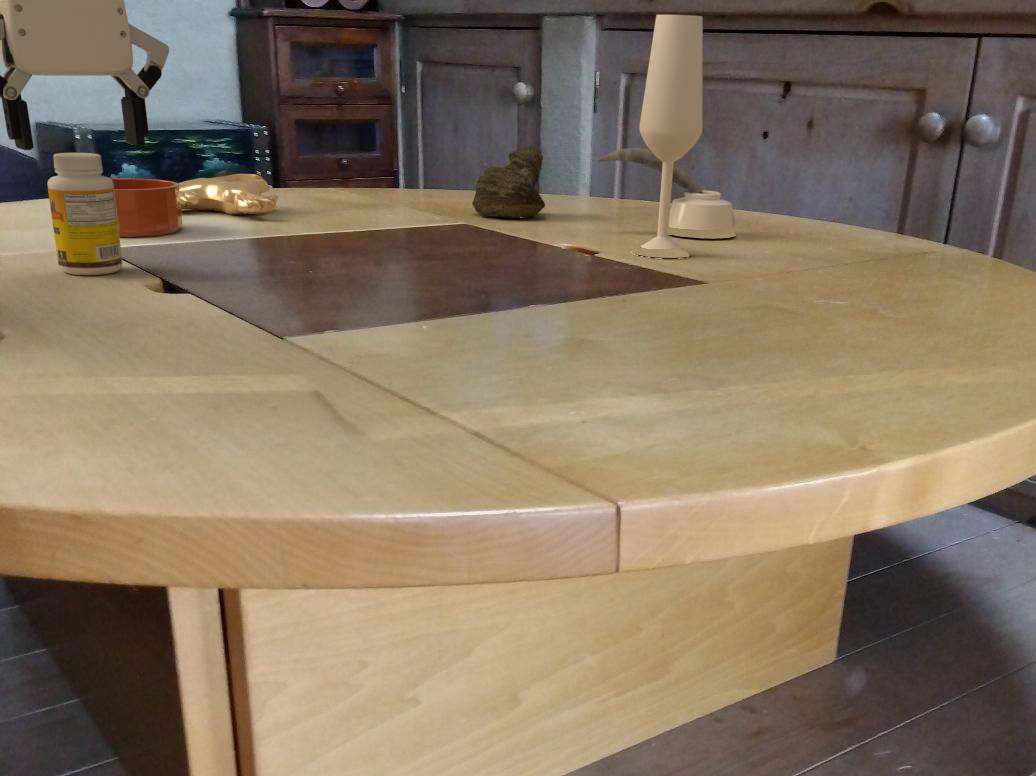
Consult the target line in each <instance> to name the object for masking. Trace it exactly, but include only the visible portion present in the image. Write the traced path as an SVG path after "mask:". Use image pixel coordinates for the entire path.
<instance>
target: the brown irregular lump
mask: <svg viewBox="0 0 1036 776" xmlns="http://www.w3.org/2000/svg"><path fill="white" fill-rule="evenodd" d="M508 160H509V164H508V165H505V166H504V167H502V166H491V167H489V168H486V169H485V170H484V171H483V175H479V177H478V179H477V181H476V186H475V194H474V197H473V200H472V202H471V206H472V207H473V208H474V210H475V212H477V214H478V215H480V216H482V217H485V216H487V217H486V218H505V219H509V218H510V219H513V218H520V217H528V218H530V217H529V216H531V217H534V215H535V216H537V215H538V214H539V213H540V212H541V211H542V210H543V209H544V208H546V203H545V201H544V199H543V197H542V196H541V194H540V192H539V191H538V190H537V189H536V186H537V184H538V182H539V178H540V173H541V170H542V166H543V160H544V156H543V154H542V151H541V149H540V147H539V146H534V145H526V146H525V147H523V148H522V149H520V150H515V151H511V152H510V153H509V154H508Z"/></svg>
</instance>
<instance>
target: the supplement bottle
mask: <svg viewBox="0 0 1036 776" xmlns="http://www.w3.org/2000/svg"><path fill="white" fill-rule="evenodd" d="M52 157H53V168H54V172H55V173H56V174H57V175H54V176H51V177H50V178H49V179H48V180H47V192H48V197H49V198H48V199H49V206H50V213H51V220H52V230H53V235H54V243H55V250H56V257H57V264H58V268H59V270H61V271H62V272H64V273H66V274H69V275H76V276H101V275H108V274H112V273H113V274H114V273H116V272H119V271H120V270H121V269H122V267H123V255H122V246H121V239H120V238H121V237H119V228H118V219H117V210H116V202H115V193H114V184H113V181H112V180H111V179H112V178H110V177H108V176H105V175H102V174H103V172H104V169H103V163H102V156H101V154H99V153H92V152H59V153H54V154H53V156H52Z"/></svg>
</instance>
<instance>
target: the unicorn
mask: <svg viewBox="0 0 1036 776" xmlns="http://www.w3.org/2000/svg"><path fill="white" fill-rule="evenodd" d="M177 183H178V184H179V190H180V201H181V210H198V211H211V210H214V211H213V212H220V211H221V212H222V213H226V214H227V215H246V214H249V215H257V214H266V213H270V212H272V211H273V210H275V208H276V207H277V202H278V200H279V198H278V195H277V194H276V193H275V194H271V195H262V194H264V193H266V192H268V191H270V185H269V184H268V182H267V180H265V179H264V178H263V176H261V175H259V174H251V173H235V174H229V175H223V176H217V177H210V178H209V177H208V178H207V177H198V178H194V179H187V180H185V181H182V182H177Z"/></svg>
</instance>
